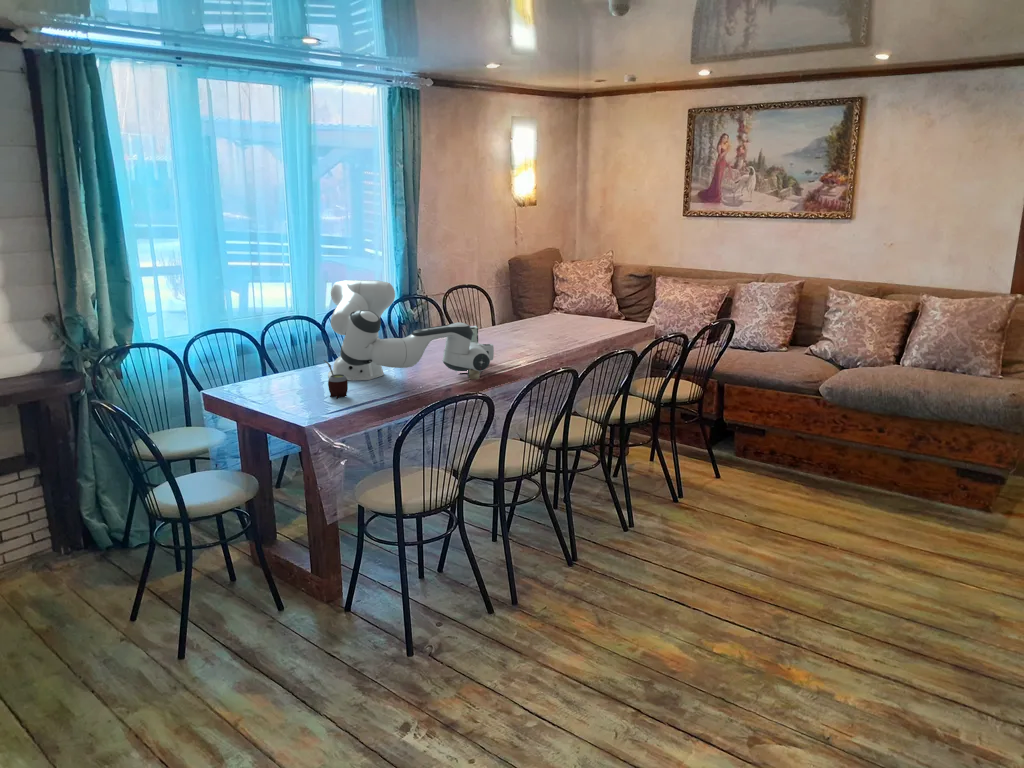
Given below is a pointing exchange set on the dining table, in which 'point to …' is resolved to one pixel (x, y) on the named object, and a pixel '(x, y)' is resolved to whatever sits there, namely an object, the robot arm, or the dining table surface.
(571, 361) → the dining table surface
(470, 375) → the letter cube
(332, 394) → the mate gourd
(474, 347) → the robot arm
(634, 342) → the dining table surface
